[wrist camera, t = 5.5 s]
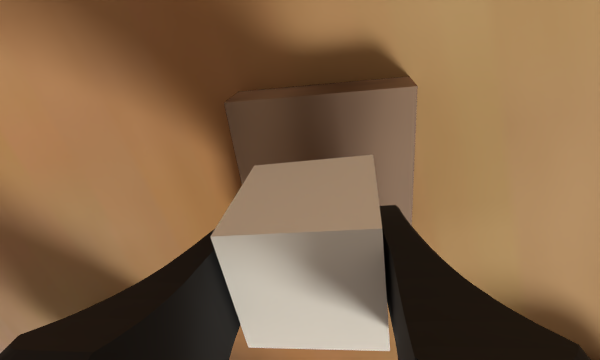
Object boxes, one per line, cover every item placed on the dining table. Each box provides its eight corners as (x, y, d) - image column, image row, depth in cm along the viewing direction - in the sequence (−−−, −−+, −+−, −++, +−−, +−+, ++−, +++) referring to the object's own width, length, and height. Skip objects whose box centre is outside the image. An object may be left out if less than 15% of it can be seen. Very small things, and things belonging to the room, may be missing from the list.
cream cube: (276, 256, 15) (248, 347, 11) (254, 165, 13) (210, 236, 9) (379, 253, 14) (390, 351, 10) (372, 154, 12) (382, 228, 8)
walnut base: (266, 223, 20) (256, 249, 18) (240, 89, 17) (223, 102, 14) (403, 220, 19) (410, 248, 17) (407, 74, 15) (417, 86, 13)
